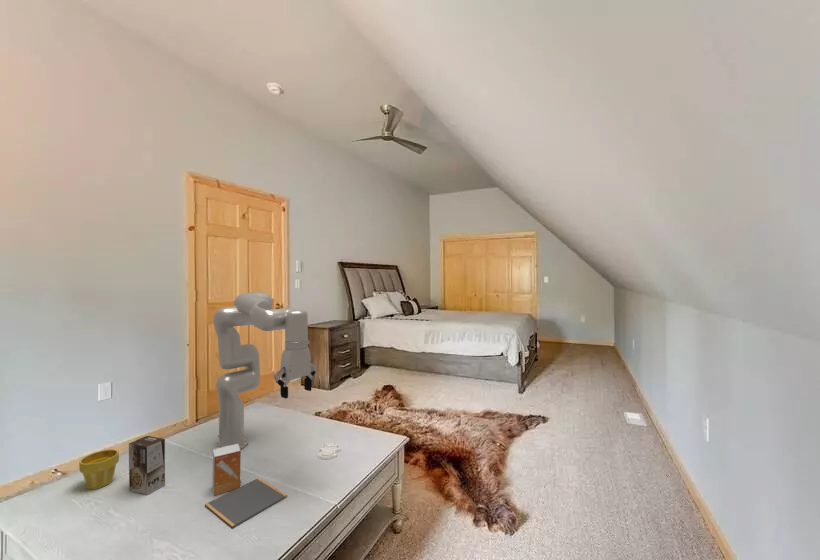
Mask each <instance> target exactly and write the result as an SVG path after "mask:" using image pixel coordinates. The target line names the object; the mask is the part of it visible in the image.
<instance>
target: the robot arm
mask: <svg viewBox="0 0 820 560" xmlns="http://www.w3.org/2000/svg"><path fill="white" fill-rule="evenodd" d="M273 303H274V302H273V298H272V295H270V294H269V293H268V292H263V291H262V292H259V291H257V292H244V293H240V294H238V295H237V296H235V298H234V300H233V304H234V305H233V306H225V307H222V308H219V309H217V310H216V312H215V313H214V315H213V327H214V330H215V333H216V335H217V348H218V363H219V366H220V368H221V369H223V370H233V369H238V368H243V367H244V369H239V370H235V371H234V370H233V371H231V372H226V373H224V374H221V375H220V376H219V377H218V378H217V379H216V382H215V388H216V392H217V398H218V434H217V437H218V442H217V443H216V444H215V446H214V449H217V448H221V447H225V446H230V445H235V444H239V447H240V450H242V449H244V448H245V447H247V445H248V443H249V440H248V438H246V437H245V420H244V419H245V406H244V405H245V403H244V401H243V400H242V398H241V397H240V396H239V394H241V393H245V392H248V391H252V390H255V389H257V388H258V387H259V386H260V384H261V365H260V352H259V350H258V348H257V346H256V345H254V344H253V343H246V344H242V343H241V335H240V333H239V331H238V330H237V329H236V327H243V326H253V327H255V328H256V329H259V330H261V331H265V332H272V331H280V330H285V331H284V332H285V333H284V334H285V335H284V336H285V337H284V338H285V339H284V344H285V345H284V348H285V349H283V350H282V354H281V358H280V369H279V370H278V371H277V372H276V373H275V374H274V375H272V376H273V379H274V380H275V383H276V384H277V385H278V386H280V397H281V398H283V399H285V400H286V399H288V398H289V386H288V384H289V382H290V381H293V380H297V379H300V378H303V377H304V380H303V381H304V382H303V383H304V385H303V386H304V387H303V389H304V390H305V391H307V392H311V391H312V385H313V384H312V383H313V381H312V380H313V379H314V376H315V374H316V371H317V369H318V365H316V364H314V363H312V359H311V357H312V356H311V353H310V352H311V351H310V348H309V347H308V345H309V344H310V342H311V341H310V339H308V337H309V335H308V334H309V333H308V331H309V330H308V327H309V323H308V317H309V316H308V315H309V314H308V312H307V310H303V309H296V308H292V307H291V308H290V307H287V308H273Z"/></svg>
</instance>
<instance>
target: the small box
mask: <svg viewBox="0 0 820 560" xmlns="http://www.w3.org/2000/svg"><path fill="white" fill-rule="evenodd" d="M241 457H242V456H241V449H240V447H239V444H235V445H230V446H225V447H221V448H217V449H215V448H214V449H212V490H213V496H216V495H219V494H224V493H228V492H231V491H233V490H235V489H237V488H239V487H241Z"/></svg>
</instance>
